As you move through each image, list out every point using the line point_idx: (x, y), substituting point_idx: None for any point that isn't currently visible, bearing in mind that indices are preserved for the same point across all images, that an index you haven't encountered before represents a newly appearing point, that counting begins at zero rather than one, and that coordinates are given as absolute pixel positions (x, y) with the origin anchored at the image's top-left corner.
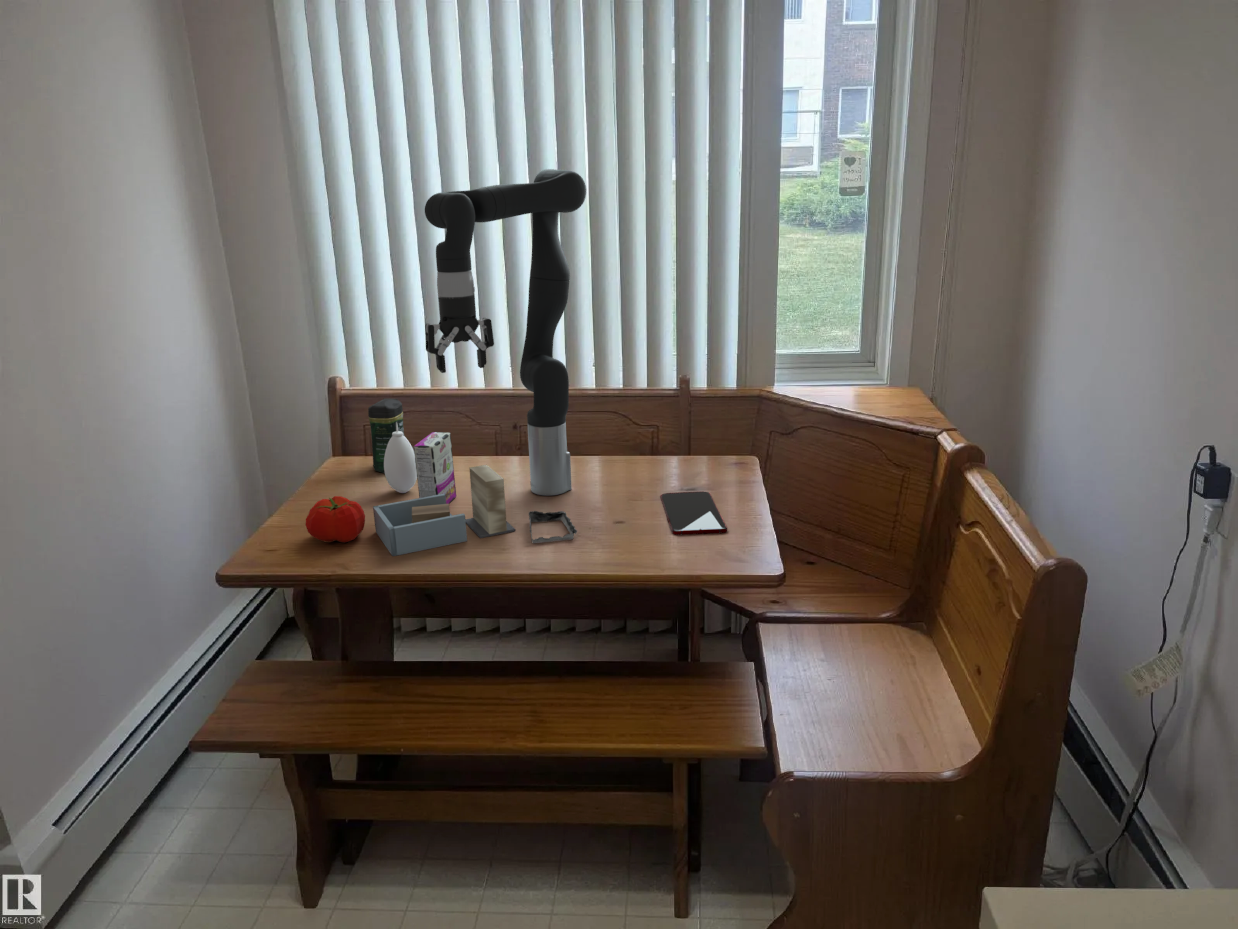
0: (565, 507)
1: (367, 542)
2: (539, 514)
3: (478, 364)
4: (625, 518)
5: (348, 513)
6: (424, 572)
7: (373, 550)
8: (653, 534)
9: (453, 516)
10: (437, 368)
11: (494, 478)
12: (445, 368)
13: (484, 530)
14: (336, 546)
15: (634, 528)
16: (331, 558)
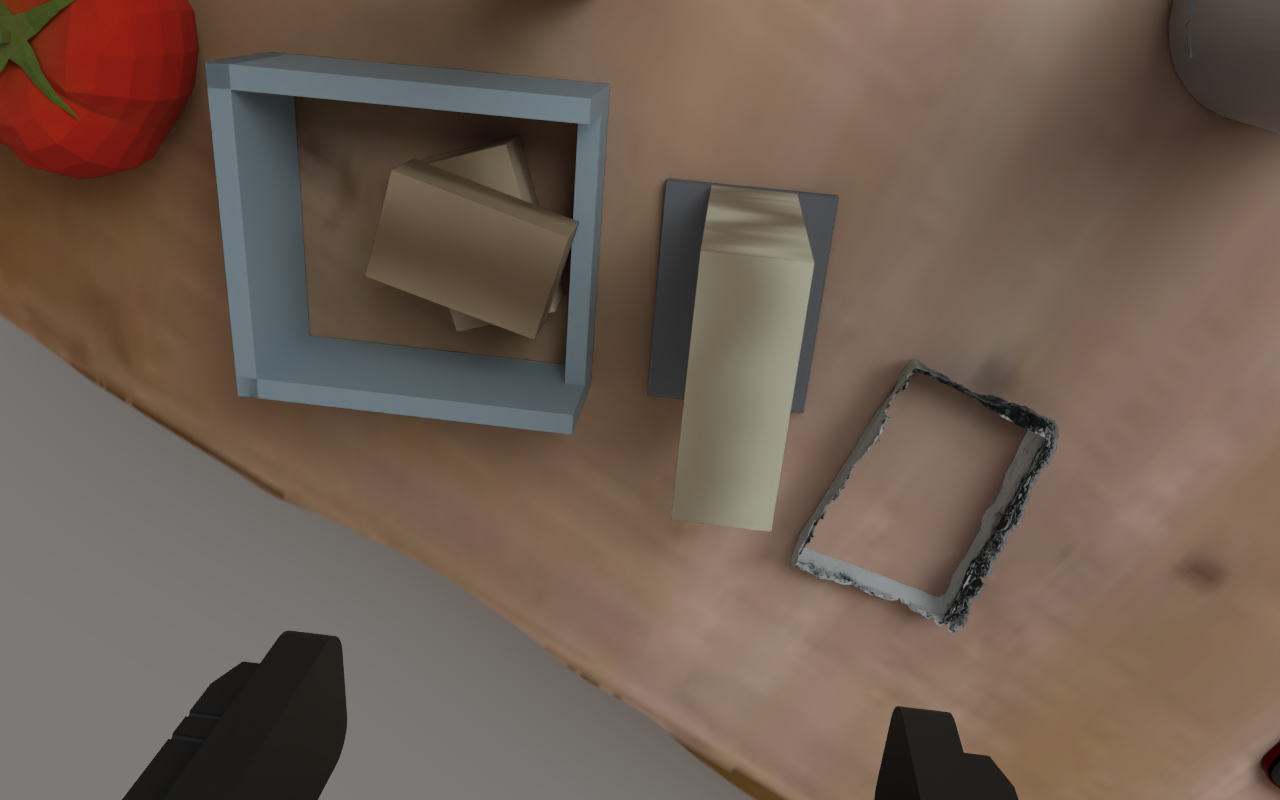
0: (1154, 298)
1: None
2: (956, 388)
3: (896, 743)
4: (1255, 556)
5: (64, 165)
6: (367, 533)
7: None
8: (1205, 724)
9: (520, 421)
10: (230, 680)
11: (733, 500)
12: (320, 790)
13: (687, 353)
14: None
15: (1198, 649)
16: (73, 229)
